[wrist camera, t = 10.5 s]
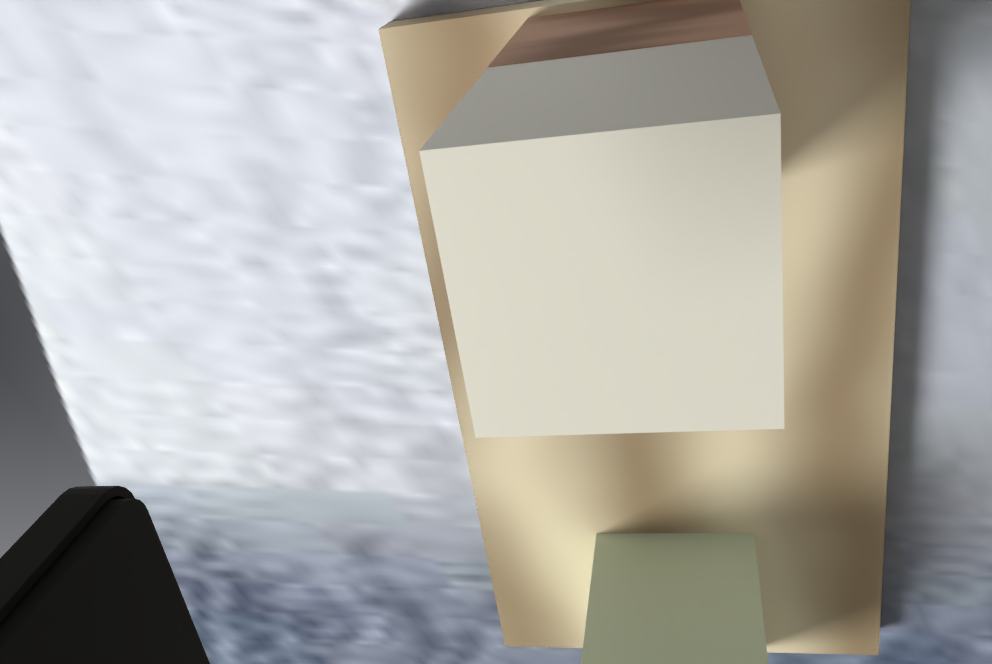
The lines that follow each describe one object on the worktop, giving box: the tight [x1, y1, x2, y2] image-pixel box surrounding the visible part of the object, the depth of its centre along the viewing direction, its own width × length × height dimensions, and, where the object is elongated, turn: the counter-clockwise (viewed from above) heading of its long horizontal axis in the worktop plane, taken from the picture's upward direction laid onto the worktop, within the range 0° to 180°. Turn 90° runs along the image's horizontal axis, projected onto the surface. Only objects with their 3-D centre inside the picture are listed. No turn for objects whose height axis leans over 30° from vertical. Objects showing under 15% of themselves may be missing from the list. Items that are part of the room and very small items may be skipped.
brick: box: [581, 533, 768, 664], centre depth 31 cm, size 6×6×6 cm
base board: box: [379, 0, 911, 655], centre depth 27 cm, size 14×24×7 cm, turn 9°
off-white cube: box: [419, 35, 784, 438], centre depth 18 cm, size 6×6×6 cm
